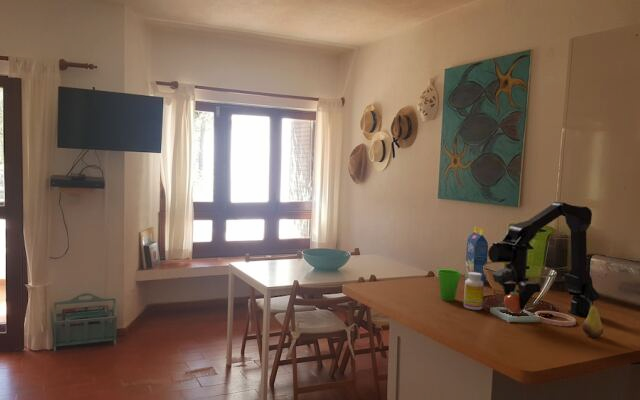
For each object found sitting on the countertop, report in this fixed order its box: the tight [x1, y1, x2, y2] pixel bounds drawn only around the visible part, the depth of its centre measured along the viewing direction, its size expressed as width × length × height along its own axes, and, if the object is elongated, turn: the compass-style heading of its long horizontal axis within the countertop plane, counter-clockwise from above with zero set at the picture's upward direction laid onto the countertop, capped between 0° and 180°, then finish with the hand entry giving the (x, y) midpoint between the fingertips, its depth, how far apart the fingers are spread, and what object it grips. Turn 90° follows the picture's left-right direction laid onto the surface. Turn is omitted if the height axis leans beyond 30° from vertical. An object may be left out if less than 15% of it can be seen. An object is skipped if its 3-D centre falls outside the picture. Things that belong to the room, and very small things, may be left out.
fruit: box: [582, 297, 604, 338], centre depth 150 cm, size 6×6×12 cm
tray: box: [489, 306, 540, 323], centre depth 167 cm, size 12×12×2 cm
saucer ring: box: [533, 310, 577, 327], centre depth 166 cm, size 13×13×1 cm
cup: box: [437, 268, 462, 302], centre depth 187 cm, size 9×9×11 cm
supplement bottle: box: [463, 272, 485, 311], centre depth 176 cm, size 7×7×13 cm
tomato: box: [503, 288, 527, 313], centre depth 167 cm, size 7×7×8 cm
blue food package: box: [464, 226, 489, 284], centre depth 224 cm, size 6×12×25 cm, turn 0°
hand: (515, 306), depth 167 cm, fingers closed on tomato, 7 cm apart
